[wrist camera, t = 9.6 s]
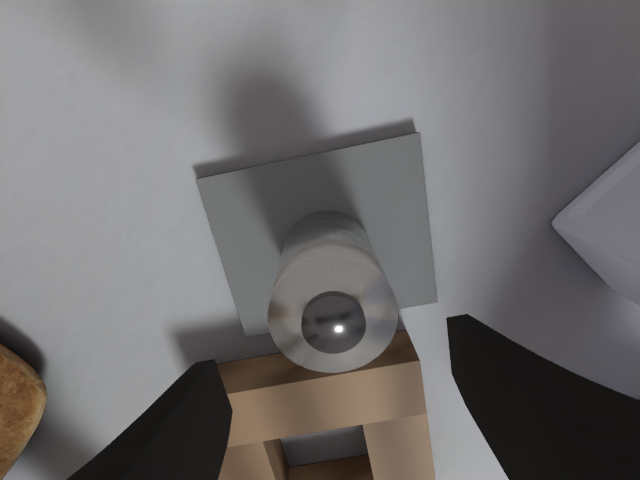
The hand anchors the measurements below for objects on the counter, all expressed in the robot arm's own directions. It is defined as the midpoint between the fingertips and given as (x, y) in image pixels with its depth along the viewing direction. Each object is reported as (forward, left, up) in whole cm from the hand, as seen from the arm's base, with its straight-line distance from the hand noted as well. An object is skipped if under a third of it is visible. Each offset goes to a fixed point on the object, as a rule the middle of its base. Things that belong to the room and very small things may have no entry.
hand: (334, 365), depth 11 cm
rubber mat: (0, -1, -10) cm, 10 cm away
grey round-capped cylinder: (0, 0, -10) cm, 10 cm away
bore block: (+3, +13, -10) cm, 17 cm away
